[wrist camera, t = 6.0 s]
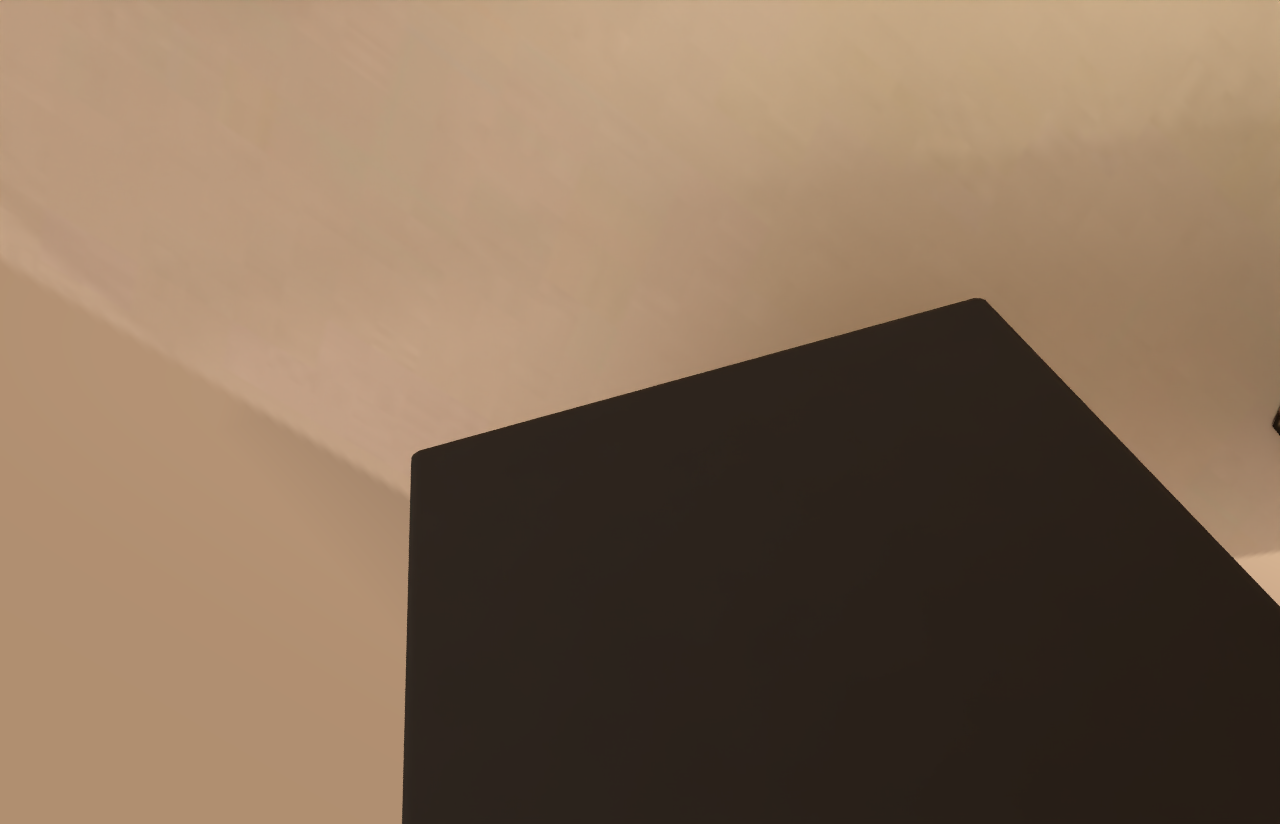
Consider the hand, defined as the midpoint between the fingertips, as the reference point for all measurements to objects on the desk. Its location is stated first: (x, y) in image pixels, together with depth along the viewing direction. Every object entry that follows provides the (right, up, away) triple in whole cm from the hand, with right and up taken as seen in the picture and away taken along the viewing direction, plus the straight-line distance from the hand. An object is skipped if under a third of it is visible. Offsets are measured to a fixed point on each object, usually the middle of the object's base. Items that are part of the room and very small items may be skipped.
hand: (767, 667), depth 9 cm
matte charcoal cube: (0, 0, 0) cm, 0 cm away
